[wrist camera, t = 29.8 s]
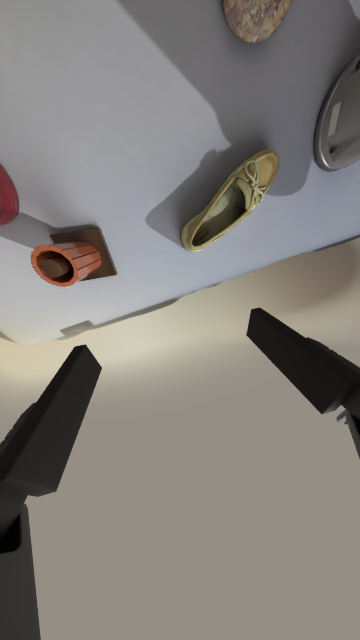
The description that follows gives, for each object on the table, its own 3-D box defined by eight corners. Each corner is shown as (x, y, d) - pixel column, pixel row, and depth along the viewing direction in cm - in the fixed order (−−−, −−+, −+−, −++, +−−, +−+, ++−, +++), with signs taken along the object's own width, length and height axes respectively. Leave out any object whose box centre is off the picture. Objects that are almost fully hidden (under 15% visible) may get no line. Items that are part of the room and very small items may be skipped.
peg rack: (100, 228, 30) (66, 223, 18) (117, 273, 36) (100, 293, 24) (53, 235, 30) (-14, 235, 17) (78, 280, 35) (39, 304, 23)
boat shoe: (275, 180, 31) (307, 166, 25) (200, 265, 38) (210, 271, 32) (255, 131, 27) (288, 98, 20) (175, 238, 34) (180, 238, 27)
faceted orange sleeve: (93, 239, 30) (64, 242, 20) (105, 268, 33) (85, 283, 23) (64, 244, 29) (19, 248, 19) (79, 273, 33) (48, 289, 23)
